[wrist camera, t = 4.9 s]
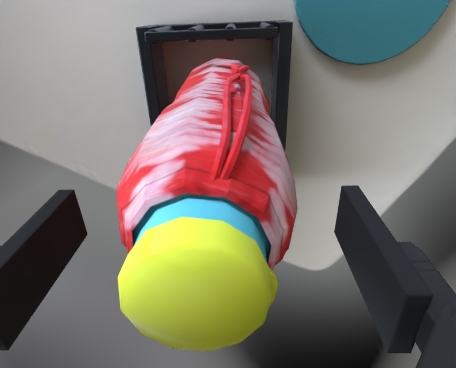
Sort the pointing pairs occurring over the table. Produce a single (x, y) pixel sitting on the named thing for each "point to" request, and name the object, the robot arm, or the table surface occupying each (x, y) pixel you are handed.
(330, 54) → the mat
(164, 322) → the water bottle
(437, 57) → the table surface
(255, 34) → the rack
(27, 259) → the robot arm
